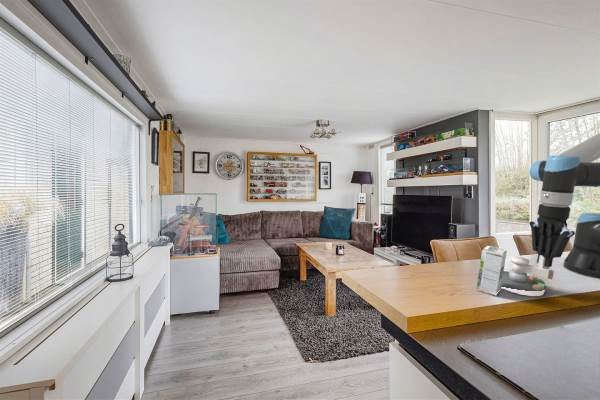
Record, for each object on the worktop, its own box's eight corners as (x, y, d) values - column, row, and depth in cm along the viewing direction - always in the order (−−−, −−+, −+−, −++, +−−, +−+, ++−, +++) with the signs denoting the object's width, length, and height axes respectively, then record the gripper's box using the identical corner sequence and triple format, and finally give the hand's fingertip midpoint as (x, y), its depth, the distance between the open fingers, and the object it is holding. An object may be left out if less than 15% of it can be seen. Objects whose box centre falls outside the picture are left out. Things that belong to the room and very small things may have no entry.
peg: (508, 271, 96) (510, 258, 95) (511, 267, 99) (513, 255, 98) (550, 282, 88) (553, 269, 87) (552, 277, 91) (555, 265, 90)
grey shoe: (517, 275, 105) (519, 263, 104) (557, 295, 90) (560, 281, 89) (480, 276, 103) (481, 264, 102) (515, 297, 88) (517, 283, 87)
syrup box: (480, 285, 96) (485, 244, 94) (501, 291, 92) (507, 249, 90) (475, 290, 92) (481, 248, 90) (497, 297, 88) (503, 253, 86)
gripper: (525, 201, 95) (515, 266, 99) (565, 209, 82) (551, 284, 86) (545, 201, 96) (534, 266, 100) (587, 208, 83) (573, 283, 87)
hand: (542, 274), depth 93 cm, fingers closed
